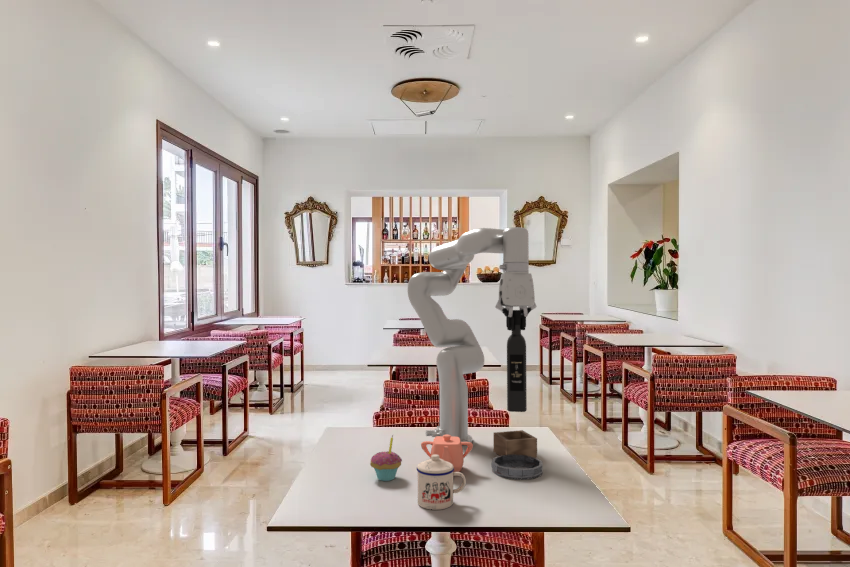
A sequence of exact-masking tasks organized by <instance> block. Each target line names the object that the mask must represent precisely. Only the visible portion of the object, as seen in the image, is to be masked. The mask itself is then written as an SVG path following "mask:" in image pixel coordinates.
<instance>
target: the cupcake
mask: <svg viewBox="0 0 850 567" xmlns="http://www.w3.org/2000/svg"><path fill="white" fill-rule="evenodd" d="M393 437H394V434H392V436H391V437H390V440H389V441H390V442H389V446H388V447H389V449H388V451H380V452H376V453H375V454H374V455H373V456H371V459H370V463H369V464H370V466H371V468H373V469H374V471H375V474H376V477H377V479H378V480H379V481H384V482H388V481H393V480H394V479H396V475H397V472H398V469H399V468H400V467H401V465H402V462H403V459H402V458H401V457H400V455H399V454H398V453H395V452H394V451H392V449H393V440H394V438H393Z"/></svg>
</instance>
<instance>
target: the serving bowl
mask: <svg viewBox="0 0 850 567" xmlns="http://www.w3.org/2000/svg"><path fill="white" fill-rule="evenodd" d="M491 468H492V472H493V473H494V474H495V475H496V476H499V477H501V478H505V479H510V480H520V479H521V480H531V479H532V478H533V479H535V478H536V477H537V478H539V477H541V476H542V475H543V461H542V460H541V459H539V458H538V457H537V458H536V457H531V456H527V455H518V454H508V455H500V456H499V455H498V456H495V457H493V458H492V460H491ZM540 475H541V476H540Z"/></svg>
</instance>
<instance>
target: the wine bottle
mask: <svg viewBox="0 0 850 567" xmlns="http://www.w3.org/2000/svg"><path fill="white" fill-rule="evenodd" d="M512 317H514V330H513V331H511V334H510V335H509V337H507V340H506V403H507V404H506V405H507V406H506V409H507V411H508V412H509V413H510V412H514V413H525V412H526V411H527V410H528V409H527V405H528V404H527V402H528V401H527V394H528V393H527V343H526V339H525V337H524V336H523V334H522V330H521V310H519V309H513V313H512Z"/></svg>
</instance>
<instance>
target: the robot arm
mask: <svg viewBox="0 0 850 567" xmlns="http://www.w3.org/2000/svg"><path fill="white" fill-rule="evenodd" d="M484 253H485V254H489V253H490V254H502V256H503V257H502V258H503V260H502V264H499V266H498V268H499V270H502V272H503V273H501V274H500V279H499V287H498V300H497V302H496V304H495V306H494V307H495V308H496V310H498V311H500V312H501V313H502V314H503V315H504V317H506V320H505V321H506V329H507V331H511V332H512V331H513V330H514V317H512V313H513V310H514V307H515V308H516V307H518V310H521V331H525V330H526V327H527V317H528V315H529V314H530V312H531V311H533V310H534V309H536V308H537V304H536V302H535V301H536V300H535V287H534V281H533V275H532V273H531V272H530V270H529V260H530V259H529V230H528V229H527V228H526V227H522V226H521V227H519V226H518V227H517V226H515V227H507V228H505V229H501V228H500V229H499V228H491V227H480V228H476V229H473V230H470V231H467V232H464V233H462V234H461V235H460V236H459V238H458V239H456V240H452V241H449V242H446V243H443V244H440V245H437V246H435V247H434V248H432V249H431V250H430V252H429V254H428V262H429V264H430V266H432V268H434V269H436V270H438V271H439V270H441V271H442V272H441V271H439V272H437V271H434V272H433V271H424V272H423V271H422V272H418V273H415V274H413V275H412V276H411V277H410V278H409V280H408V282H407V297H408V300H409V302H410V304H411V306H412V307H413V310H414V311H415V312H416V314H417V315H418V318H419V320H420V322H421V324H422V327H423V329H424V331H425V333H426V335H427V337H428V339H429V341H430V343H431V345H433V346H434V347H436V348H443V349H441V350H440V351H439V352H438V354H437V356H436V368H437V374H438V382H439V426H438V425H437V426H436V428H434V429H429V430H425V436H426V437H431V438H435V437H436V436H443V435H446V434H448V435H451V436H453V437H459V438H460V441H461V442H471V443H472V442H473V436H472V435H470V434H469V433H468V432H469V426H468V424H469V422H468V421H469V419H468V418H469V413H468V412H469V410H468V409H469V406H468V405H469V395H468V394H469V392H468V391H469V390H468V384H467V381H466V379H465V377H464V375H467V374H473V373H477V372H479V371H480V370H482V369H483V367H484V365H485V356H484V355H485V354H484V352H483V350H482V347H481V345H480V344H479V340H477V337H476V336H475V334H474V332H473V330H472V328H471V326H470V325H469V324H468V323H467V322H466V321H465V320H462V319H459V318H458V319H457V318H456V319H455V318H454V319H453V318H452V319H451V318H450V319H449V318H447V316H446V314H445V313H444V310H443V308H442V306H441V305H440V304H439V303H438V302H437V301H436V300H435V299H433V298H432V297H442V296H443V297H444V296H445V297H446V296H449V295H450V294H452V293H453V292H454V291H455V289H456V288H457V286H458V284H459V283H460V281H461V279H462V277H463V275H464V273H465V271H466V268H467V267H468V264H469V263H472V261H473V260H474V257H475V255H476V254H484ZM529 272H530V273H529Z"/></svg>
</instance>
